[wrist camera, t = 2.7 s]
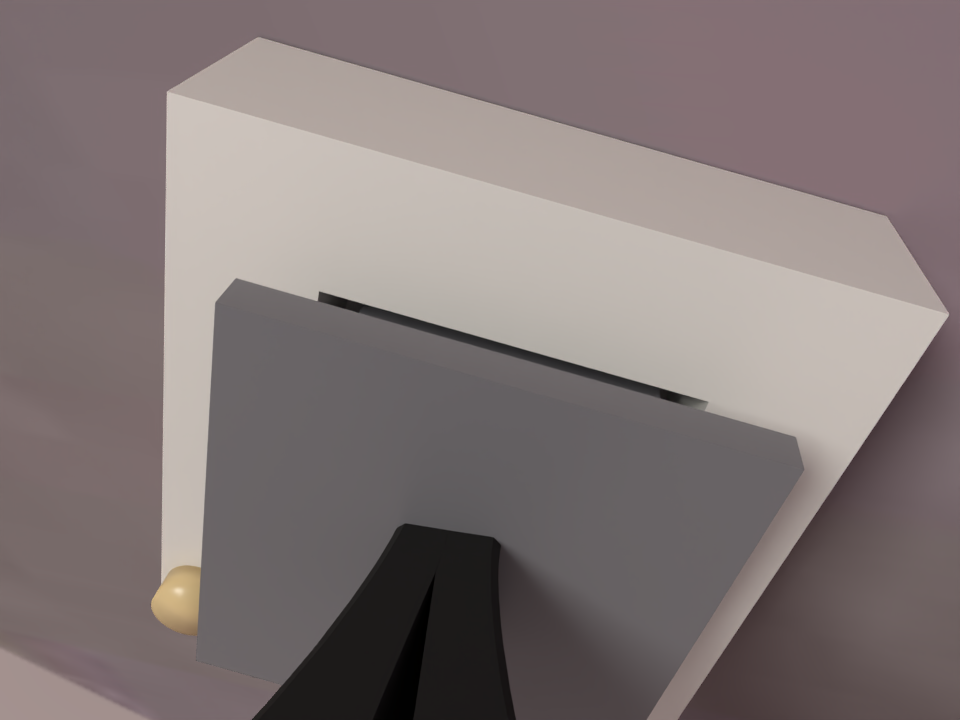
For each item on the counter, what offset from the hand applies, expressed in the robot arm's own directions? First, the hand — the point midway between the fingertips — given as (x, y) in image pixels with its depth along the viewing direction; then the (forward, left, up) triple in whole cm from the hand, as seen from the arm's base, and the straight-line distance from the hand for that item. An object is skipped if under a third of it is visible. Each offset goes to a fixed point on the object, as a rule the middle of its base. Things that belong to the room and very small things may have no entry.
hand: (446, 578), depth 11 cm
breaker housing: (0, 0, -5) cm, 5 cm away
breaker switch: (0, 0, -4) cm, 4 cm away
